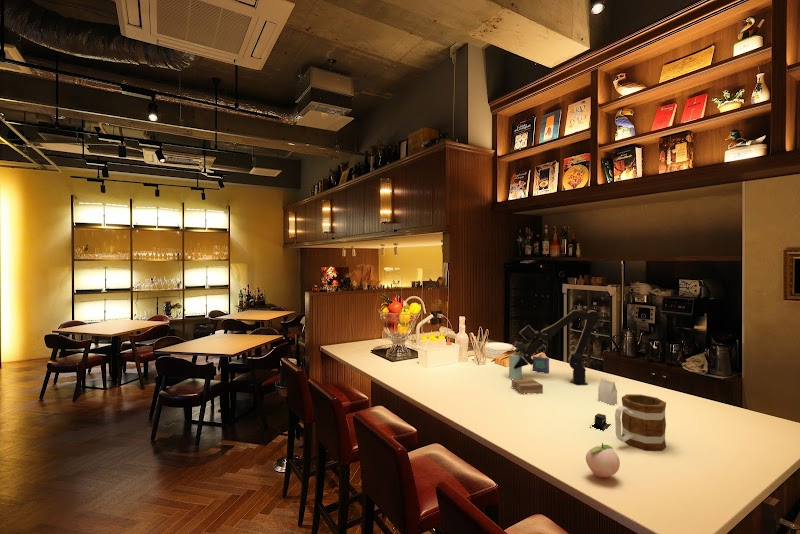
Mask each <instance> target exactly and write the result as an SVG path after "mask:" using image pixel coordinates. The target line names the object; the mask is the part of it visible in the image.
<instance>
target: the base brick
mask: <svg viewBox="0 0 800 534" xmlns="http://www.w3.org/2000/svg"><path fill="white" fill-rule="evenodd" d="M512 387H513V388H514V389H516V390H517V391H518V392H517V391H516V390H515V391H516V392H517V393H519V392H520V393H521V394H520V393H519V394H520V395H525V394H524V393H541V394H544V385H543V384H541V383H540V382H539V381H536V380H535V379H533V378H524V379H523V378H522V379H518V380H511V388H512ZM513 388H512V389H513ZM514 389H513V390H514Z"/></svg>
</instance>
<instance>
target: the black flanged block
mask: <svg viewBox="0 0 800 534" xmlns="http://www.w3.org/2000/svg"><path fill="white" fill-rule="evenodd" d="M594 423H595V424H594V425H592V424H591V425H592V427H594V428H596V429H595V430H597V429H600V430H599V431H601V430H602V431H601V432H605V431H606V430H607V429H608V427H609V426H610V425H611V424H612V423H609V424H607V423H608V422H607V415H606V414H603V413H596V414H595V415H594ZM611 426H612V425H611ZM611 426H610V427H611ZM610 427H609V428H610ZM605 429H606V430H605ZM604 430H605V431H604Z"/></svg>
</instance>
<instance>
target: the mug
mask: <svg viewBox="0 0 800 534" xmlns="http://www.w3.org/2000/svg"><path fill="white" fill-rule="evenodd" d="M621 404H622V406H621V405H620V406H618V407H617V408H616V409H615V412H614V422H615V437H616V439H617V440H618V441H621V442H623V443H625V444H626V445H627V446H628V447H632V448H634V449H637V450H641V451H645V452H663V451H664V450H665V448H666V447H667V443H666V427H667V422H666V421H667V420H666V407H667V402H666V401H664V400H662V399H660V398H658V397H655V396H650V395H645V394H640V393H639V394H636V393H635V394H625V395H623V396H622V397H621Z"/></svg>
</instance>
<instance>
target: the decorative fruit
mask: <svg viewBox="0 0 800 534" xmlns="http://www.w3.org/2000/svg"><path fill="white" fill-rule="evenodd" d="M613 449H614V448H613V446H611V445H609V444H604V443H603V442H602V443H601V445H596V446H594V447H592V448H590V449H589V450H588V451H587V453H586V455H585V462H586V464H587V466H588V469H590V471H591V472H592V473H594V474H595V475H596V476H597V477H600V478H603V479H604V478H608V477H610V476H613V475H615V474H616V473H618V471H619V469H620V466H621V465H620V463H621V462H620V458H619V455H618V453H616V451H615V450H613Z"/></svg>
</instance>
